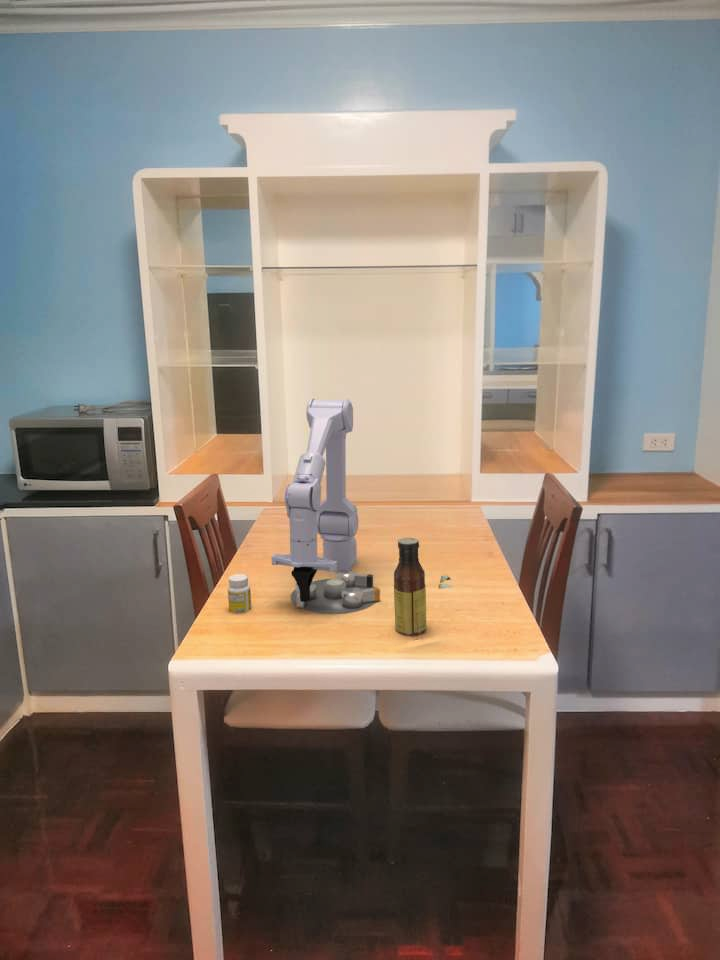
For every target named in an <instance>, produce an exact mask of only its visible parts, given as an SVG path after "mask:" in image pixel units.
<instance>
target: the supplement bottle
mask: <svg viewBox="0 0 720 960" xmlns="http://www.w3.org/2000/svg"><path fill="white" fill-rule="evenodd" d="M251 592H252V591H251V585H250V583H249V577H248V575H247V574H245V573H236V574H232V575H230V576H229V577H228V587H227V597H228V610H229V612H230V613H233V614H245V613H248V612H250V610H252V597H251V596H252V595H251Z"/></svg>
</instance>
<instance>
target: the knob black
mask: <svg viewBox="0 0 720 960" xmlns="http://www.w3.org/2000/svg"><path fill="white" fill-rule="evenodd" d="M336 579H340V580H343V581H345V582H346V588H351V587H354V586H367V587H372V586H373V587H374V574H372V573H371V574H370V573H369V574H365V573H357V571H356V570H353V569H343V570H339V571H337V572H336Z"/></svg>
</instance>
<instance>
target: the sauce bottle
mask: <svg viewBox="0 0 720 960" xmlns="http://www.w3.org/2000/svg"><path fill="white" fill-rule="evenodd" d="M397 547H398V555H399V557H398V563H397V565H396V567H395V570H394V572H393V598H394V599H393V600H394V601H393V602H394V622H395V623H394V625H395V626H394V627H395V632H397V633H398V634H401V635H403V636H408V637H417V636H421V635H423V634H425V633H426V632H427V597H426V596H427V595H426V594H427V590H426V580H425V579H426V578H425V577H426V576H425V575H426V574H425V570H424V568H423V566H422V564H421V563H420V560H419V559H420V558H419V548H420V541H419V539H417V538H415V537H402V538H400V539H398V541H397ZM417 640H419V638H417V639H415V641H417Z"/></svg>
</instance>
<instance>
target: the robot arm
mask: <svg viewBox="0 0 720 960" xmlns="http://www.w3.org/2000/svg"><path fill="white" fill-rule="evenodd" d="M305 412H306V421H307V423H308V427H309V428H310V431H309V436H308V443H307V449H306V452H304V453H302V454H301V455H300V456H299V460H298V462H297V467H296V470H295V473H294V476H293V480H292V482H291V483H290V484H288V485H287V486H286V488H285V493H284V506H285V507H286V516H287V518H288V519H289V550H290V551H289V553H290V554H278V553H276V554H273V555H271V566H287V567H293V570H292V571H291V576H292V578H293V580H294V581H295V584H296V583H297V585H298V587H299V590H300V601H301V602H306V601H308V600H309V599H310V585H311V582H312V581H314V577H315V576H316V574H317V571H325V572H329V573H335V572H336V573H337V571H339V570H343V569H350V570H352V567H353V565H354V564H355V563H357V560H358V559H357V558H358V557H357V556H358V555H357V554H358V553H357V551H358V549H357V548H358V547H357V546H358V545H357V544H358V543H357V539H356V537H355V536H356V535H357V533H358V529H359V515H358V508H357V505H356V504H354V502H352V501H351V500H350V499H348V498H347V497H346V496H347V495H346V493H347V491H346V489H347V487H346V486H347V485H346V483H347V481H346V478H347V477H346V472H347V471H346V469H347V467H346V461H347V460H346V456H347V455H346V453H347V452H346V449H347V448H346V438H347V434H348V433H351V432H353V428H354V407H353V404H352V402H351V400H350V399H347V398H345V399H325V398H324V399H319V398H317V399H316V398H311V399H310V400H309V401H308V403H307V404H306V410H305ZM324 453H325V459H324V457H323V456H324ZM324 471H325V472H326V474H325V476H326V479H325V480H326V481H325V482H326V484H325V485H326V489H325V490H326V499H325V500H323V501H321V499H322V484H321V483H322V479H323V475H324ZM318 535H320V539H321V540H322V557H321V556H320V557H319V556H318Z"/></svg>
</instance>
